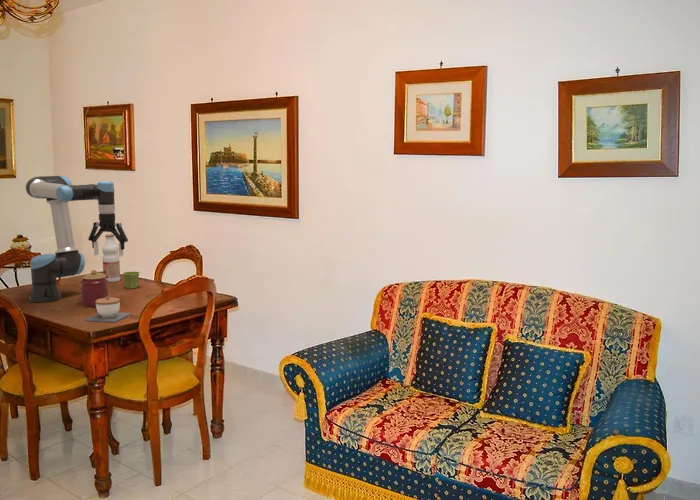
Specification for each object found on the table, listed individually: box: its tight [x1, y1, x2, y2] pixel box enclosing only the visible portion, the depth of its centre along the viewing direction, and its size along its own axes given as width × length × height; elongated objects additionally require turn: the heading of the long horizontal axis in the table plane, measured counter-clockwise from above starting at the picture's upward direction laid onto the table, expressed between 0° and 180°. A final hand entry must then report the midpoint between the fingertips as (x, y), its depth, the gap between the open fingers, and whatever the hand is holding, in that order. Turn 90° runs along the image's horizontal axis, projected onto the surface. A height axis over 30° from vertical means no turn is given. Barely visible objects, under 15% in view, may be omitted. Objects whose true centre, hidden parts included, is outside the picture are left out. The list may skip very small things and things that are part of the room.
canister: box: [80, 269, 109, 307], centre depth 325 cm, size 13×13×18 cm
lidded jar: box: [95, 295, 121, 318], centre depth 298 cm, size 11×11×9 cm
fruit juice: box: [101, 233, 121, 283], centre depth 382 cm, size 9×9×28 cm
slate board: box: [84, 311, 133, 324], centre depth 299 cm, size 15×15×1 cm
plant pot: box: [122, 271, 141, 290], centre depth 364 cm, size 9×9×9 cm
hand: (108, 255), depth 316 cm, fingers open, 13 cm apart
